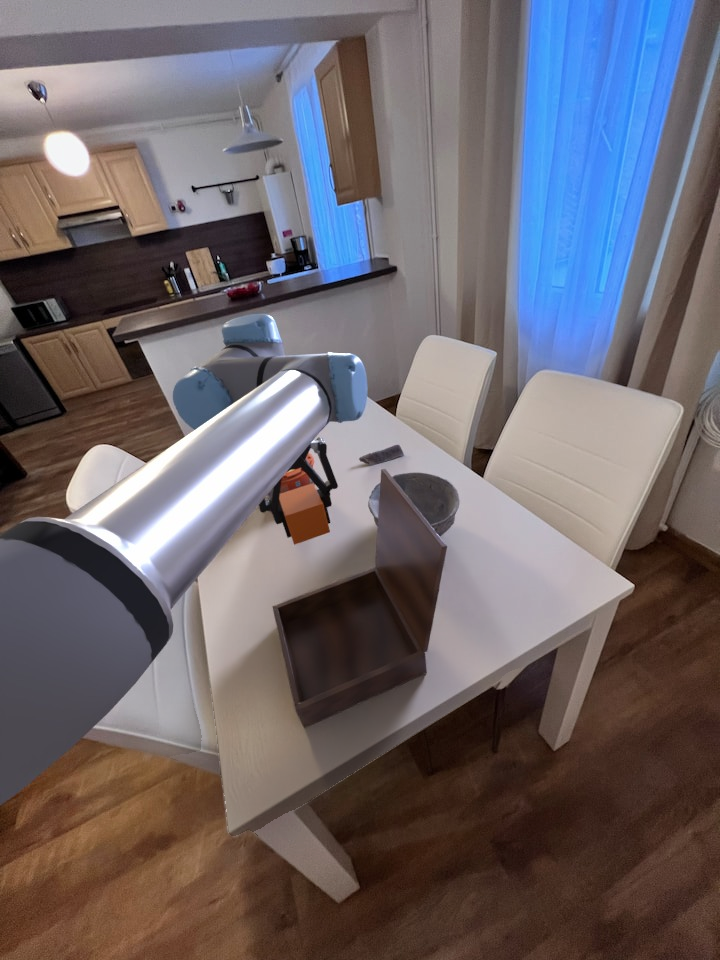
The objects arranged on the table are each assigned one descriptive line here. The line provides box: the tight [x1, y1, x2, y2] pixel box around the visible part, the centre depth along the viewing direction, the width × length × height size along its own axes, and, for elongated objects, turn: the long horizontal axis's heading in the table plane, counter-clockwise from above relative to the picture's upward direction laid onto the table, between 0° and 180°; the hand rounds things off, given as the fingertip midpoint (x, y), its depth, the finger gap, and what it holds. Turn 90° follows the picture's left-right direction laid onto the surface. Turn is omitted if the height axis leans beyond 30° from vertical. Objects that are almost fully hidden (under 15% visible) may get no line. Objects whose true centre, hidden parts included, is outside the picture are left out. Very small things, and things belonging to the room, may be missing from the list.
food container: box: [267, 452, 316, 502], centre depth 112 cm, size 16×16×11 cm
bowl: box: [367, 471, 460, 537], centre depth 94 cm, size 21×21×10 cm
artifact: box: [358, 444, 405, 466], centre depth 123 cm, size 4×14×2 cm, turn 108°
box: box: [271, 566, 428, 729], centre depth 73 cm, size 22×21×6 cm
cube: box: [279, 483, 331, 546], centre depth 75 cm, size 7×7×7 cm
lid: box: [374, 468, 448, 653], centre depth 67 cm, size 23×21×4 cm
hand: (307, 525), depth 77 cm, fingers closed on cube, 7 cm apart
